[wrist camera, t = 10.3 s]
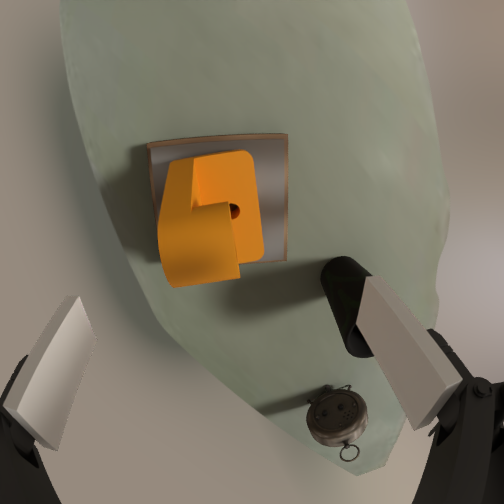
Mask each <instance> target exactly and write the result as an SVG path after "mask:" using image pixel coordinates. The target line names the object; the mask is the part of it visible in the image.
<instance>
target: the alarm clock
mask: <svg viewBox="0 0 504 504" xmlns="http://www.w3.org/2000/svg"><path fill="white" fill-rule="evenodd" d="M351 387H352V386H351V385H349V387H348V389H347V390H345V389H338V390H332V391H331V389H330V386H329V385H326V389H327V392H326V393H324V394H323V395H321V396H319V397H318V398H317V399H316V400H315V401H314V402H311V401H310V400H307V402H308V403H310V404H311V406H310V407H309V409H308V412H307V417H306V421H307V425H308V428H309V430H310V432H311V434H312V436H313V438H314V439H315V440H316V441H317V442H319V443H320V444H322V445H325V446H329V447H340V446H344V447H343V448H342V450H343V449H344V448H345V449H348V448H349V447H350V446H354V447H356V448H357V450H358V454H357V456H356V457H355V458H354V459H352V460H345V459H343V458H342V456H341V453H342V450H341V452H340V458H341V460H343V461H345V462H351V461H354V460H355V459H356V458H357V457H358V456H359V454H360V450H359V448H358V447H357V446H356V445H349V444H350V443H352V442H353V441H355V440H356V439H357V438H359V437H360V436H361V435H362V433H363V432H364V430H365V428H366V426H367V422H368V414H367V406H366V403H365V401H364V399H363V398H362V397H361V396H360V395H359V394H357V393H356V392H353V391H351V390H350V388H351Z"/></svg>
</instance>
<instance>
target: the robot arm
mask: <svg viewBox="0 0 504 504" xmlns="http://www.w3.org/2000/svg"><path fill="white" fill-rule="evenodd" d="M356 325H357V326H358V328H359V330H360V331H361V333H362V335H363V337H364V338H365V340H366V342H367V344H368V345H369V347H370V349H371V351H372V352H373V354H374V356H375V358H376V360H377V361H378V363H379V365H380V367H381V369H382V370H383V372H384V374H385V376H386V378H387V380H388V381H389V383H390V385H391V387H392V389H393V391H394V393H395V395H396V396H397V398H398V400H399V402H400V404H401V406H402V408H403V410H404V412H405V414H406V416H407V418H408V420H409V422H410V424H411V426H412V428H413V430H414V431H415V430H417V429H419V428H422V427H424V426H427V425H429V424H430V423H431V422H432V421H433V419H434V418H435V417H436V416H437V417H438V419H439V422H438V423H437V424H436V426H435V427H434V428H433V429H432V430H431V431H430V433H429V435H428V436H431V435H432V434H433V433H434V432H435V434H434V438H433V442H432V446H431V449H430V453H429V457H428V460H427V463H426V466H425V469H424V472H423V475H422V478H421V481H420V484H419V487H418V490H417V492H416V495H415V498H414V500H413V502H412V504H504V426H503V422H504V382H501V383H494V384H491V383H490V382H489V381H488V380H486V379H484V378H481V377H475V378H474V377H473V376H472V375H471V373H470V372H469V371H468V369H467V368H466V367H465V366H464V364H463V363H462V361H461V360H460V359H459V357H458V356H457V355H456V353H455V352H453V349H452V348H451V347H450V346H448V343H447V342H446V341H445V339H444V338H443V337H442V336H441V335H440V334H439V333H437V332H436V331H434V330H433V329H428V330H426V329H425V328H424V327H423V325H422V324H421V323H420V322H419V320H418V319H417V318H416V317H415V316H414V314H413V313H412V312H411V311H410V309H409V308H408V307H407V306H406V305H405V303H404V302H403V301H402V300H401V299H400V298H399V296H398V295H397V294H396V293H395V292H394V291H393V289H392V288H391V287H390V286H389V285H388V284H387V283H386V281H385V280H384V279H383V278H382V277H381V276H380V275H378V276H370V277H366V280H365V285H364V290H363V295H362V299H361V304H360V308H359V313H358V317H357V321H356ZM96 343H97V338H96V336H95V333H94V331H93V329H92V327H91V324H90V322H89V319H88V317H87V315H86V312H85V310H84V307H83V304H82V302H81V299H80V296H66V298H65V299H64V301H63V302H62V303H61V305H60V306H59V308H58V309H57V311H56V312H55V314H54V315H53V317H52V318H51V320H50V321H49V323H48V324H47V326H46V328H45V329H44V331H43V332H42V334H41V335H40V337H39V339H38V340H37V342H36V344H35V345H34V347H33V349H32V350H31V352H30V354H29V355H26V356H25V357H24V358H23V359H22V360H21V361H20V362H19V363H18V365H17V367H16V369H15V370H14V373H13V374H12V376H11V378H10V380H9V382H8V383H7V386H6V388H5V389H4V391H3V393H2V395H1V398H0V504H61V502H60V500H59V498H58V496H57V494H56V492H55V490H54V488H53V486H52V484H51V481H50V479H49V477H48V475H47V472H46V470H45V467H44V465H43V462H42V460H41V457H40V455H39V452H38V449H37V448H36V446H35V445H34V442H35V440H36V441H38V442H39V443H40V444H41V445H42V446H43V447H46V448H49V449H52V450H55V451H58V448H59V445H60V441H61V438H62V435H63V431H64V428H65V425H66V422H67V418H68V415H69V413H70V409H71V407H72V404H73V401H74V398H75V395H76V393H77V390H78V387H79V385H80V382H81V379H82V377H83V374H84V372H85V369H86V367H87V364H88V362H89V359H90V357H91V354H92V352H93V349H94V347H95V345H96Z"/></svg>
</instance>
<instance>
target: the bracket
mask: <svg viewBox="0 0 504 504" xmlns="http://www.w3.org/2000/svg"><path fill="white" fill-rule="evenodd" d="M230 203H233V204H236V205H237V206H238V207H237V209H235V210H234V211H230V207H229V204H230ZM158 246H159V253H160V258H161V263H162V266H163V270H164V273H165V276H166V278H167V280H168V282H169V284H170V285H171V286H172V287H173V288H176V287H183V286H190V285H197V284H204V283H211V282H217V281H224V280H231V279H237V278H240V271H239V264H240V263H246V262H252V261H257V260H259V259H261V258H262V257H263V255H264V243H263V235H262V226H261V218H260V210H259V202H258V193H257V185H256V177H255V169H254V161H253V158H252V156H251V155H250V154H249V153H248V152H247V151H246V150H243V149H238V150H231V151H224V152H218V153H212V154H206V155H200V156H194V157H189V158H184V159H179V160H174V161H172V162H171V163H170V165H169V170H168V174H167V179H166V184H165V189H164V194H163V199H162V204H161V210H160V215H159V221H158Z"/></svg>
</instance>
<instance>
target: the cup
mask: <svg viewBox="0 0 504 504" xmlns="http://www.w3.org/2000/svg"><path fill="white" fill-rule="evenodd" d="M370 276H372V275H371V274H370V273H369V272H368V271H367V270H365V269H364V268H363V267H362V266H361V265H360V264H358V263H357V262H356V261H355V260H354V259H352V258H350V257H347V256H341V257H337V258H335V259H332V260H331V261H330V262H328V263H327V264H326V266H325V267H324V269H323V270H322V273H321V284H322V286H323V289H324V291H325V294H326V296H327V299H328V302H329V304H330V307H331V309H332V312H333V315H334V317H335V320H336V323H337V325H338V328H339V331H340V333H341V336H342V339H343V342H344V344H345V347H346V349H347V351H348V353H350V354H351V355H352V356H355V357H358V358H368V357H373V356H374V354H373V352H372V351H371V349H370V347H369V345H368V344H367V342H366V340H365V338H364V337H363V335H362V333H361V331H360V330H359V328H358V326H357V325H356V321H357V317H358V313H359V308H360V304H361V299H362V295H363V290H364V285H365V280H366V277H370Z"/></svg>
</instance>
